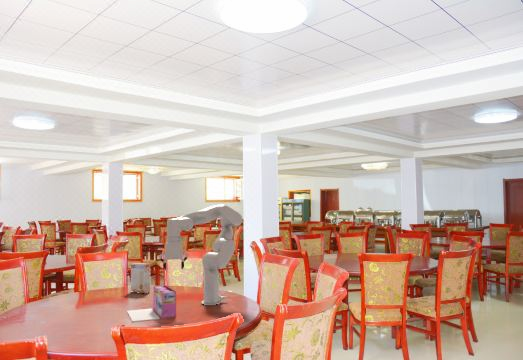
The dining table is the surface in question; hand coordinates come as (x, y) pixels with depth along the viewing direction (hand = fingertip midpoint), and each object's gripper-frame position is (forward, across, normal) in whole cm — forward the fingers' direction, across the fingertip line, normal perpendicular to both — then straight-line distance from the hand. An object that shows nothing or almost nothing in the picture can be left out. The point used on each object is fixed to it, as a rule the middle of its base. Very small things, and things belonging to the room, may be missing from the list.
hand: (173, 269), depth 243 cm
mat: (+24, +18, +4) cm, 30 cm away
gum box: (+24, +6, +3) cm, 25 cm away
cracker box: (+24, +19, -67) cm, 74 cm away
